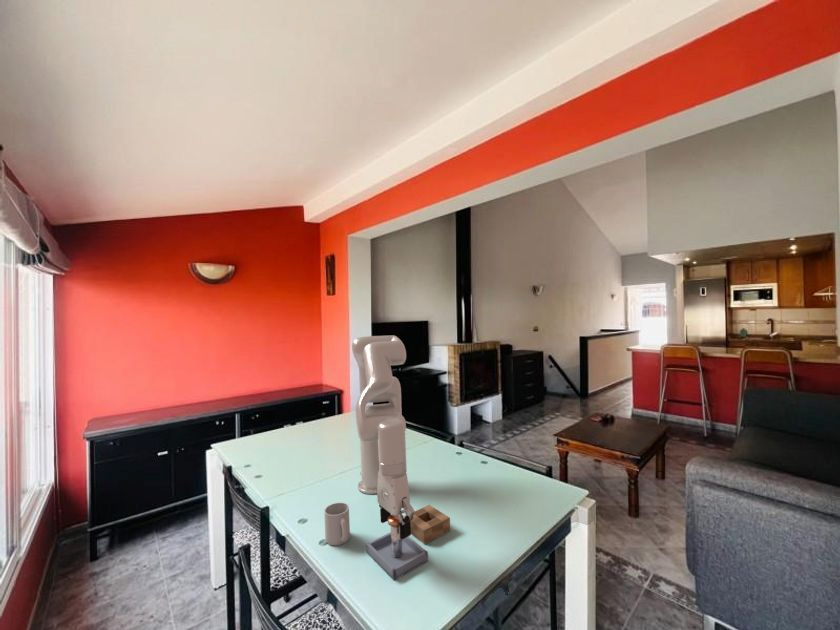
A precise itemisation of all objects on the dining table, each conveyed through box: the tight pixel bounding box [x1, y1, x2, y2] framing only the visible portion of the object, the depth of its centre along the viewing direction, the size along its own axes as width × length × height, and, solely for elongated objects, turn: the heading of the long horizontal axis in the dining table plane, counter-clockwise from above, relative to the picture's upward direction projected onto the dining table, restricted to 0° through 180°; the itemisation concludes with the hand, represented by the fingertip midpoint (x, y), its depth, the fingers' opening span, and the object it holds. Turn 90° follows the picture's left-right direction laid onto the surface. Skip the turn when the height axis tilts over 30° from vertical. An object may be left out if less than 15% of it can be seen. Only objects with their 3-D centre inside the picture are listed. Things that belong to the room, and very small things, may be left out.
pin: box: [387, 514, 405, 558], centre depth 98 cm, size 4×4×10 cm
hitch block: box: [403, 504, 451, 545], centre depth 110 cm, size 10×10×4 cm
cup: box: [323, 502, 351, 547], centre depth 106 cm, size 7×10×9 cm
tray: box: [365, 531, 429, 581], centre depth 98 cm, size 14×11×2 cm
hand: (395, 528), depth 98 cm, fingers open, 9 cm apart
